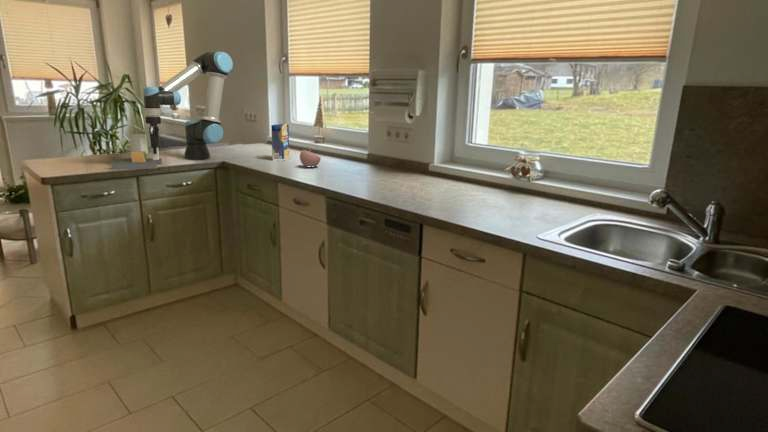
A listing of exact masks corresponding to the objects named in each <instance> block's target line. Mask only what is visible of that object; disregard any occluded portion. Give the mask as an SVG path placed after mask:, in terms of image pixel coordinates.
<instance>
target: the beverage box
mask: <svg viewBox="0 0 768 432" xmlns="http://www.w3.org/2000/svg"><path fill="white" fill-rule="evenodd" d="M270 127H271V156H272V157H271V159H285V158H287V157H289V158H290V129H289V128H290V127H289V124H284V123H276V124H272V125H271V126H270Z"/></svg>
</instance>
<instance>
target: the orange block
mask: <svg viewBox="0 0 768 432" xmlns="http://www.w3.org/2000/svg"><path fill="white" fill-rule="evenodd" d="M130 157H131V158H132V162H147V160H146V151H133V152H131V151H130Z"/></svg>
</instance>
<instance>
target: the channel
mask: <svg viewBox="0 0 768 432" xmlns="http://www.w3.org/2000/svg"><path fill="white" fill-rule="evenodd" d="M146 160H147V162H132V158H129V157H128V158H127V157H125V158H122V157H121V158H118V161H117V162H116V161H113V162H110V165H111V169H113V170H116V169H117V170H119V169H120V170H121V169H122V170H126V169H127V170H130V169H132V170H133V169H135V170H136V169H139V170H140V169H141V170H143V169H146V170H147V169H148V170H149V169H150V170H151V169H158V166H157V165H163V161H162V160H163V158H161V157H159V160H153V157H151V158H146Z"/></svg>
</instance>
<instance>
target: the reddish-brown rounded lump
mask: <svg viewBox="0 0 768 432" xmlns="http://www.w3.org/2000/svg"><path fill="white" fill-rule="evenodd" d="M313 150H314V147H311V148H309V150H306V149H302V150H301V152H300V153H299V160H300V162H301V164H302V165H303V166H304V167H306V166H311V167H312V166H315V167H316V166H319V164H320V162H321V157H320V156H319V155H317V154H315V153H313V152H312V151H313ZM312 168H313V167H312Z"/></svg>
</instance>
